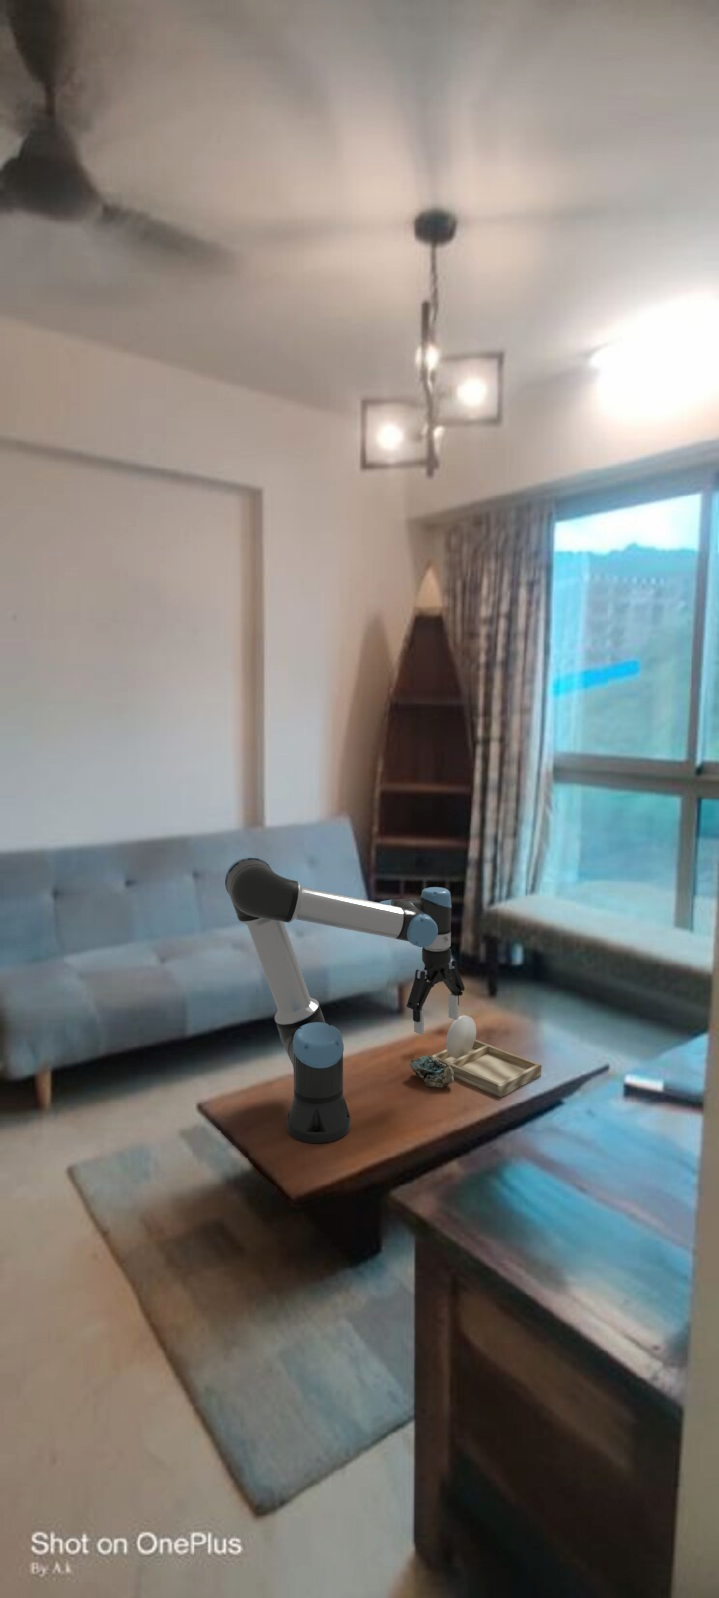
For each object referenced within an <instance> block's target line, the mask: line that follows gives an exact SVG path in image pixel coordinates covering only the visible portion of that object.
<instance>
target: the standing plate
mask: <svg viewBox="0 0 719 1598" xmlns="http://www.w3.org/2000/svg"><path fill="white" fill-rule="evenodd" d="M476 1038H477V1026H476V1022H475V1020H474V1019H473V1018H472V1017H471V1016H468V1015H466V1014H465V1015H464V1014H463V1015H460V1016H459V1015H458V1020H455V1019H453V1021H452V1023H451V1024H450V1026H449V1028H448V1030H447V1033H446V1039H445V1047H446V1049H447V1051H448V1053H449V1055H450V1056H451V1057H453V1058H455V1059H458V1058H460V1057H462V1056H464V1055H466V1054H468V1053H469V1052H470V1051H471V1049H472V1047H473V1045H474V1042H475V1039H476Z"/></svg>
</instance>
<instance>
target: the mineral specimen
mask: <svg viewBox="0 0 719 1598" xmlns="http://www.w3.org/2000/svg"><path fill="white" fill-rule="evenodd" d="M408 1065H409V1067H410V1068H411V1070H412V1072H413V1073H415V1076H417V1077H419V1078H421V1079H422V1080H423V1081H424V1084H425V1087H427V1088H445V1087H447V1086H449V1085H452V1084H453V1082H454V1081H455V1077H453V1074H454V1072H453V1070H452V1068H451V1067H450V1065H449V1064H447V1065H445V1064H442V1063H441V1062H439V1061H438V1060H437V1059H436V1058H434V1057H433V1055H432V1054H429V1055H422V1056H420V1057H417V1058H415V1059H413V1060H411V1061H410V1062H409V1064H408Z"/></svg>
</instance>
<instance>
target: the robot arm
mask: <svg viewBox="0 0 719 1598" xmlns="http://www.w3.org/2000/svg"><path fill="white" fill-rule="evenodd" d="M224 879H225V880H224V886H225V890H226V892H227V894H228V895H229V897H230V899H231V903H232V905H233V908H234V911H235V915H236V916H237V919H238V921H239V922H240V923H242V924H244V925H246V926H247V928H248V930H249V934H250V936H251V939H252V943H253V945H254V947H255V948H254V949H255V950H256V953H257V956H258V959H259V961H260V965H261V968H262V969H263V972H264V976H265V978H266V981H267V983H268V986H269V989H270V992H271V994H272V998H273V1001H274V1004H275V1006H276V1009H277V1011H276V1013H275V1015H274V1022H275V1024H276V1027H277V1030H278V1033H279V1040H280V1042H281V1045H282V1046H283V1047H284V1049H285V1051H286V1054H287V1056H288V1057H289V1060H290V1062H291V1065H292V1067H293V1068H292V1069H293V1098H292V1101H291V1105H290V1108H289V1109H290V1111H288V1114H287V1117H286V1130H287V1132H288V1134H289V1135H290V1136H291V1137H292V1138H294V1139H296V1140H298V1141H301V1142H305V1143H308V1144H309V1143H310V1144H324V1143H330V1142H335V1141H337V1140H340V1139H341V1138H343V1137H345V1136H346V1135H347V1134H348V1133H349V1131H350V1130H351V1128H352V1127H351V1125H352V1124H351V1123H352V1122H351V1114H350V1111H349V1107H348V1105H347V1102H346V1099H345V1096H344V1050H345V1049H344V1042H343V1041H344V1040H343V1036H342V1033H341V1031H340V1030H339V1029H338V1028H337V1027H336V1026H335V1025H329V1023H326V1021H325V1018H324V1014H323V1012H322V1008H321V1007H320V1003H319V1001H318V1000H317V999H315V998H313V997H311V996H310V992H309V989H308V987H307V984H306V981H305V979H304V976H303V973H302V970H301V967H300V964H299V962H298V959H297V956H296V953H295V950H294V947H293V943H292V941H291V938H290V936H289V933H288V930H287V926H286V924H285V923H289V924H290V923H291V922H293V921H295V920H298V921H301V922H303V921H304V922H307V923H313V924H317V925H323V926H328V927H334V928H338V929H344V930H348V931H354V932H357V933H358V932H360V933H363V934H364V933H365V934H368V935H369V934H370V935H374V936H379V937H386V938H390V939H395V940H399V941H404V942H409V943H410V944H411V945H413V946H415V947H418V948H421V960H422V962H423V965H424V966H423V967H424V968H423V969H421V970H420V969H415V972H414V973H415V975H414V981H413V984H412V986H411V990H410V993H409V996H408V1000H407V1002H406V1003H407V1004H406V1007H407V1008H408V1009H411V1010H412V1021H413V1032H414V1033H416V1034H419V1035H424V1034H425V1010H424V1009H423V1006H424V1004H425V1002H426V1000H427V998H428V996H429V994H430V991H432V988H434V987H435V985H437V984H439V983H442V982H443V984H444V985H445V986H446V987H447V989H448V990H449V992H450V993H448V1018H450V1019H452V1020H458V1017H459V1005H460V996H462V995H463V992H464V991H465V988H466V987H465V985H464V982H463V980H462V977H461V974H460V971H459V968H458V962H457V960H455V959H452V949H451V948H450V947H451V944H452V943H451V942H452V941H451V936H452V932H451V931H452V928H451V927H452V926H451V925H452V907H453V906H452V897H451V891H450V890H449V889H447V888H445V887H441V886H440V887H438V886H433V887H431V886H430V887H426V888H424V889H422V891H421V895H420V896H418V897H415V898H414V897H411V898H400V899H399V898H398V899H388V900H381V901H379V902H377V901H376V902H375V901H371V900H366V899H361V898H358V897H352V896H347V895H342V894H338V893H333V892H329V891H324V890H323V891H322V890H319V889H313V888H309V887H305V886H302V885H301V883H300V882H299V881H298V880H294V879H289V878H286V877H284V876H281V875H279V874H278V873H276V872H275V871H274V870H272V867H271V866H270V865H269V863H268V862H266V861H265V860H264V859H262V858H258V857H256V856H245V857H241V858H239V859H237V860H235V861H234V862H233V863H232V864H231V865H230V867H228V869H227V872H226V874H225V877H224Z"/></svg>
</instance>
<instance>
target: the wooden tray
mask: <svg viewBox="0 0 719 1598" xmlns="http://www.w3.org/2000/svg"><path fill="white" fill-rule="evenodd" d="M432 1056H433V1057H434V1058H436V1059H437V1060H438V1061H439V1062H441V1063H442V1064H445V1065H447V1064H449V1065H450V1067H451V1068H452V1070H453V1072H454V1074H453V1078H454V1079H455V1078H456V1079H458V1080H460V1081H462V1082H465V1083H467V1084H469V1085H471V1086H474V1087H475V1088H479V1089H481V1090H483V1091H486V1092H487V1093H489V1094H492V1095H494V1096H496V1097H498V1098H502V1097H504V1096H506V1095H508V1094H510V1093H512V1092H513V1091H515V1090H517V1089H519V1088H521V1087H523V1086H525V1085H527V1084H528V1083H530V1082H531V1081H534V1080H536V1079H537V1078H539V1077H541V1076H542V1064H540V1063H538V1062H536V1061H533V1060H530V1059H529V1058H525V1057H524V1056H520V1055H517V1054H515V1053H512V1052H510V1051H506V1050H504V1049H503V1048H499V1047H496V1046H495V1045H494V1046H493V1045H491V1044H488V1043H486V1042H483V1041H481V1040H479V1039H476V1038H475V1042H474V1045H473V1047H472V1049H471V1051H470V1052H469V1053H468V1054H466V1055H464V1056H462V1057H460V1058H458V1059H455V1058H453V1057H451V1056H450V1055H449V1053H448V1051H447V1048H446V1049H444V1050H442V1051H439V1052H437V1053H435V1054H433V1055H432Z"/></svg>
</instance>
